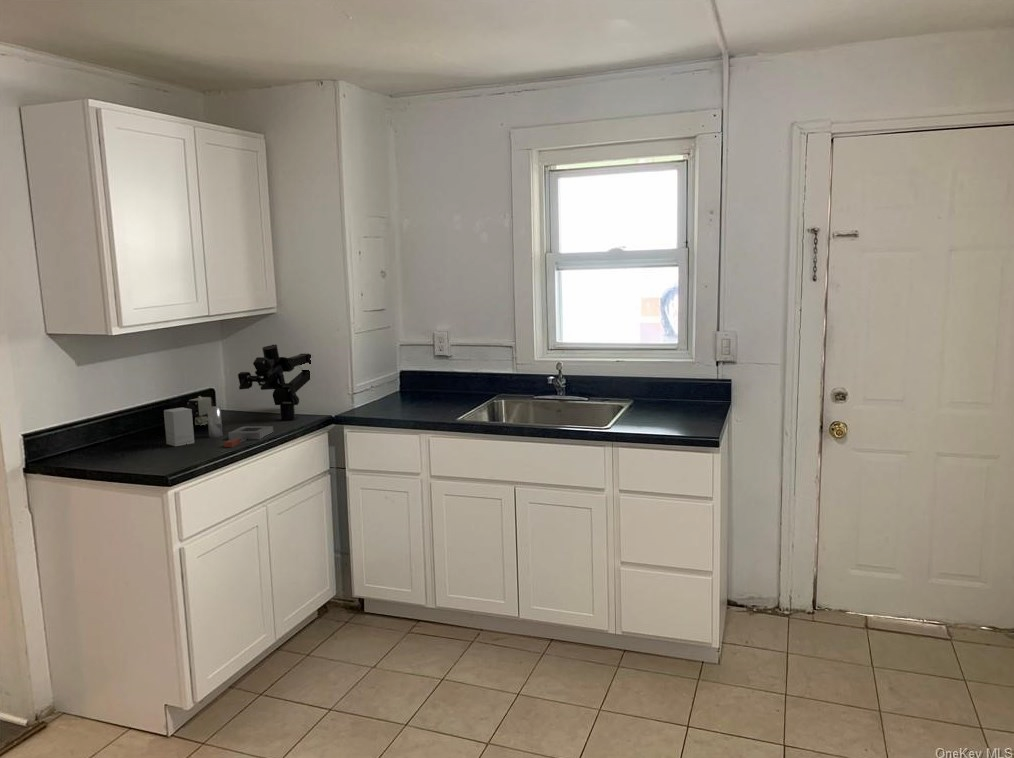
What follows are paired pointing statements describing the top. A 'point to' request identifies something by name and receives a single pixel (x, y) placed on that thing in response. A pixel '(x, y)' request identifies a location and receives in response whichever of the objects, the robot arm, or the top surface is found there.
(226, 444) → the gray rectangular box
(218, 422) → the shiny metal cylinder
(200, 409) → the pneumatic valve
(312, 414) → the top surface
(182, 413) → the supplement box
